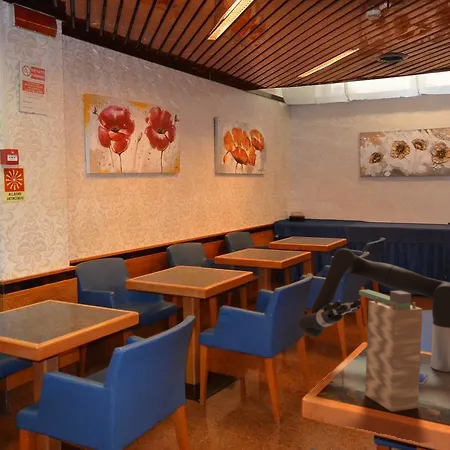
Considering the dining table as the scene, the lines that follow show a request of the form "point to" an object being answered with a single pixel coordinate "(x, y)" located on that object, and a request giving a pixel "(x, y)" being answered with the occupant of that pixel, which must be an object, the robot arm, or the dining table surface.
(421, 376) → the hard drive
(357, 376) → the dining table surface
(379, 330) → the stand
